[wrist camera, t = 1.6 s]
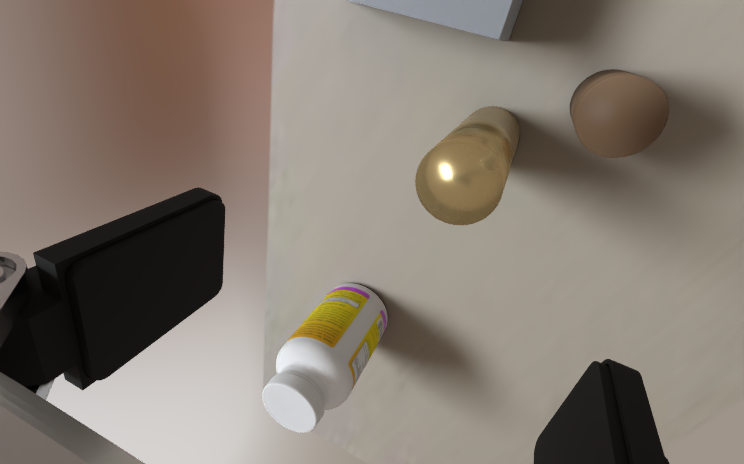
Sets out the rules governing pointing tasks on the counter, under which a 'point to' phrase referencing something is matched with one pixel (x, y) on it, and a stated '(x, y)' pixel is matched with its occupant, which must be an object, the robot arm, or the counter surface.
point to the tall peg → (469, 167)
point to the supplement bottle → (325, 357)
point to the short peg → (618, 113)
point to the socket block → (458, 14)
